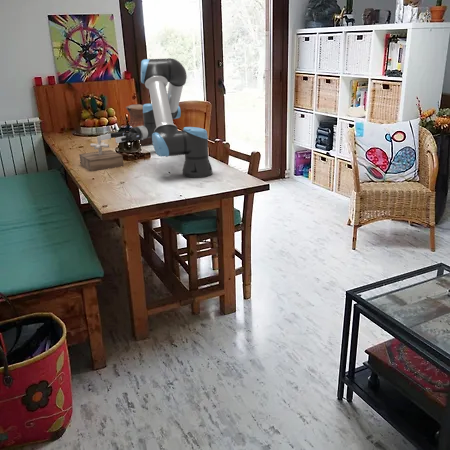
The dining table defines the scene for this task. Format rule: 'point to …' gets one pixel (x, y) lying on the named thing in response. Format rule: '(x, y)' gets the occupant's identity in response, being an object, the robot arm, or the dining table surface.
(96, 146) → the pipe connector
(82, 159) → the stand
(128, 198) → the dining table surface
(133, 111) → the jug
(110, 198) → the dining table surface
